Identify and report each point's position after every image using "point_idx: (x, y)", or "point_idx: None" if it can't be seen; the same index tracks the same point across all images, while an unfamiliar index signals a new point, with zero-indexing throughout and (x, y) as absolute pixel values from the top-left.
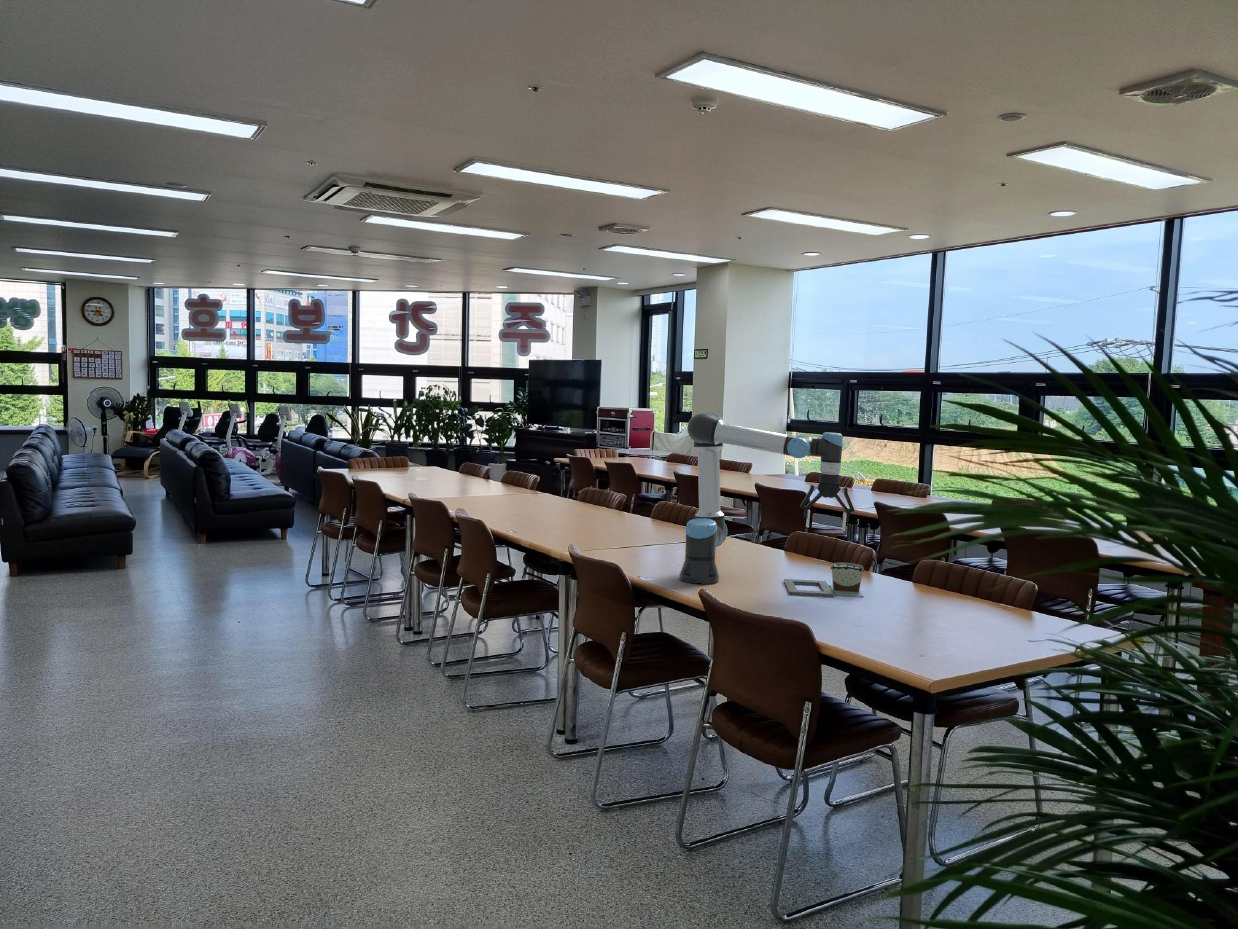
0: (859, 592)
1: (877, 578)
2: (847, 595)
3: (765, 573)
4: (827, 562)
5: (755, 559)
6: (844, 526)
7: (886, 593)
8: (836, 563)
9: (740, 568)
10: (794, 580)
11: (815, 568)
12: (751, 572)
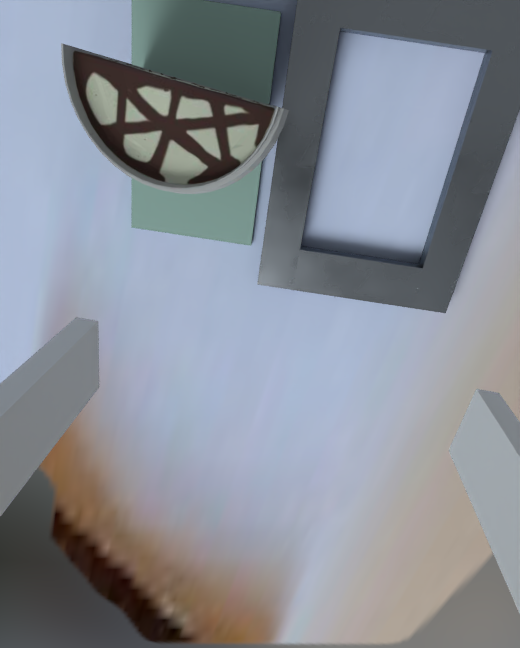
0: None
1: None
2: (217, 2)
3: None
4: (157, 588)
5: (393, 618)
6: (64, 340)
7: (3, 108)
8: (228, 174)
9: None
10: (406, 284)
11: (221, 520)
12: None
